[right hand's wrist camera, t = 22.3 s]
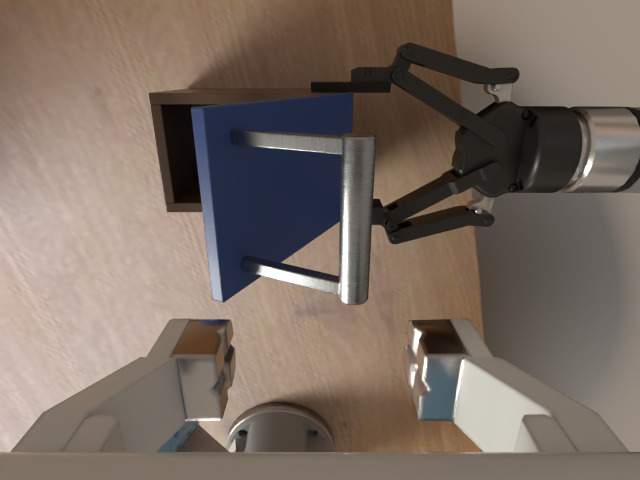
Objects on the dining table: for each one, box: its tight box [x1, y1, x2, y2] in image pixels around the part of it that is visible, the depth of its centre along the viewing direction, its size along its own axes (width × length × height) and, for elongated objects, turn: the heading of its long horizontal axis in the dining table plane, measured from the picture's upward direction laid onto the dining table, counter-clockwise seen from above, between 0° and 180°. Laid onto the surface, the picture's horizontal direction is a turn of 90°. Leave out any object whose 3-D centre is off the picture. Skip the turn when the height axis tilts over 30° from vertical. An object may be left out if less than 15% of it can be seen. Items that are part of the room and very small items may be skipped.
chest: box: [149, 89, 347, 212], centre depth 39 cm, size 16×10×10 cm, turn 90°
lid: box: [191, 93, 376, 305], centre depth 25 cm, size 17×10×8 cm
